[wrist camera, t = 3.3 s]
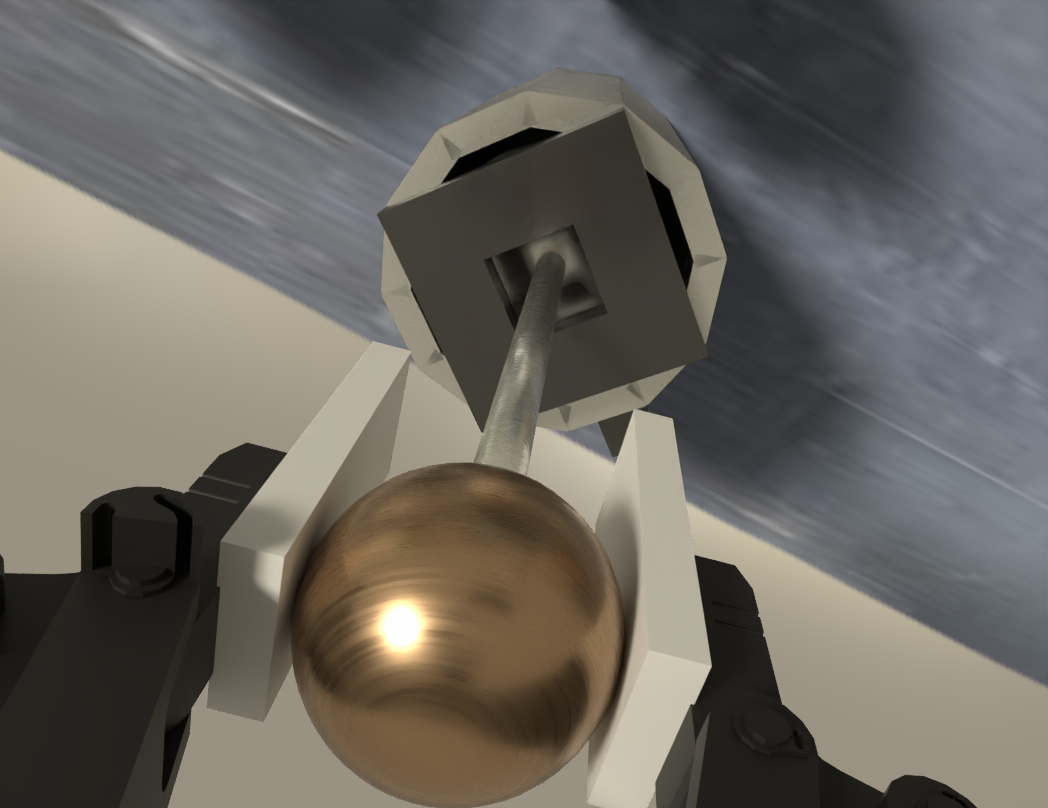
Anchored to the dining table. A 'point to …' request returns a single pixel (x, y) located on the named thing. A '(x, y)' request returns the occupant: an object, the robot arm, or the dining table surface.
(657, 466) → the robot arm
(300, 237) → the dining table surface
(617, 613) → the plunger
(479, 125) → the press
